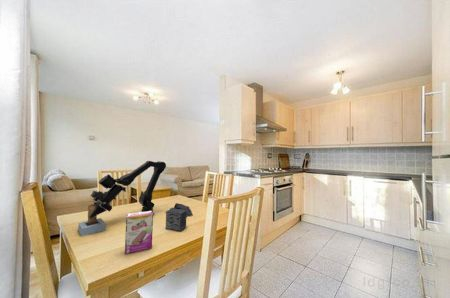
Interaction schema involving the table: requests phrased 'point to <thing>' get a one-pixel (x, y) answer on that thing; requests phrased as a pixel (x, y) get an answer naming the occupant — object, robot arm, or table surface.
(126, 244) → the candy bar box
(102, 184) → the robot arm
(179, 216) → the small box
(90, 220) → the walnut peg
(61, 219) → the table surface
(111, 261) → the table surface
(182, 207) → the dark slate chunk
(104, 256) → the table surface
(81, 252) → the table surface
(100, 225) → the socket block
